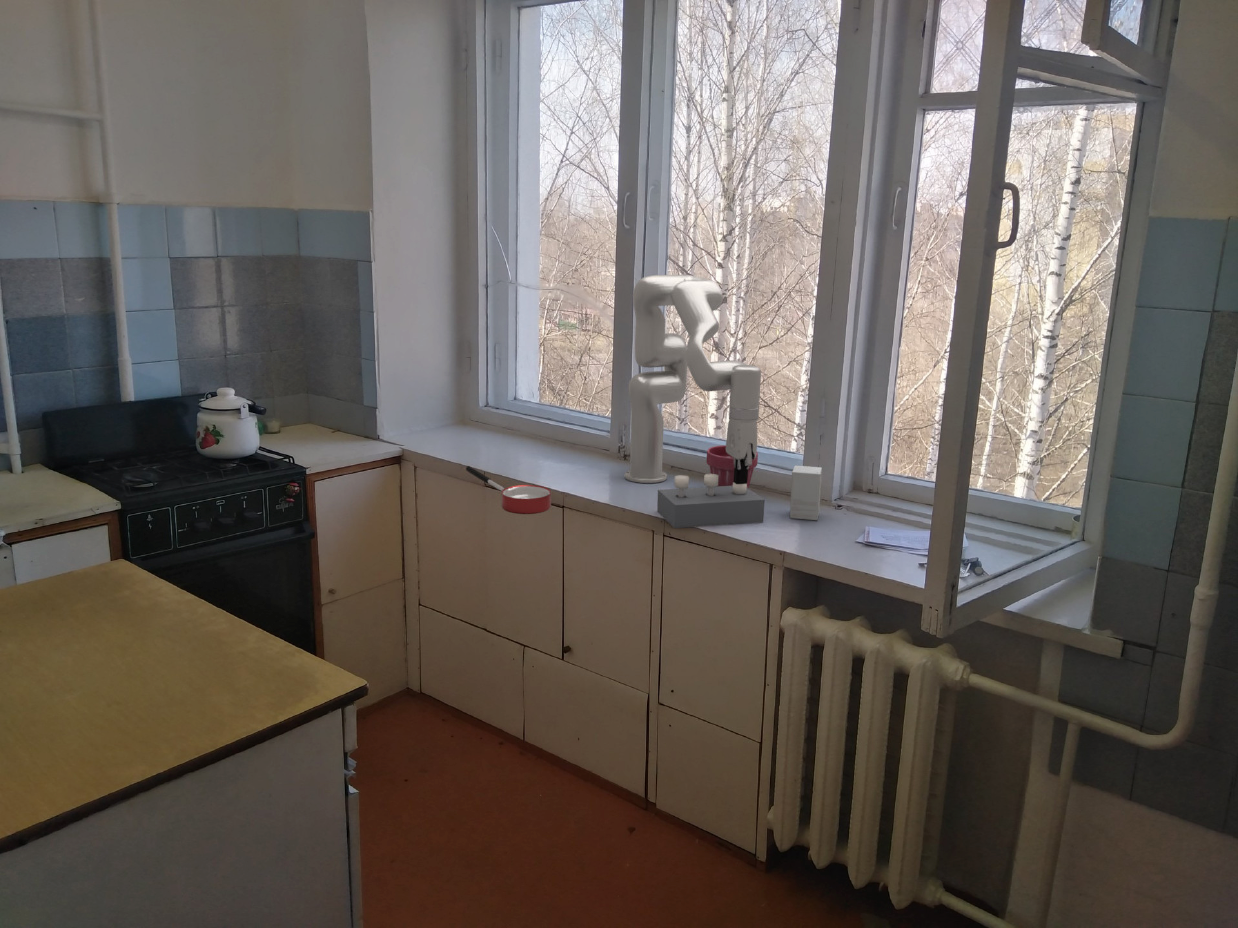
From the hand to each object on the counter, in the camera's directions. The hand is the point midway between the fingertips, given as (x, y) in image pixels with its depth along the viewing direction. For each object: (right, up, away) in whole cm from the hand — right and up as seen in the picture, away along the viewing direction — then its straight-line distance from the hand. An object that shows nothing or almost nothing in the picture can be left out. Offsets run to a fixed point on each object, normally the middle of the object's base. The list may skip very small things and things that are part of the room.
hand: (740, 483), depth 247 cm
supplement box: (+17, -9, +3) cm, 20 cm away
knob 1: (-16, -5, -3) cm, 17 cm away
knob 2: (-8, -5, -1) cm, 9 cm away
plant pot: (0, -4, +20) cm, 21 cm away
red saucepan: (-63, -5, +11) cm, 64 cm away
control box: (-8, -9, 0) cm, 12 cm away
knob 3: (0, -7, +2) cm, 7 cm away
